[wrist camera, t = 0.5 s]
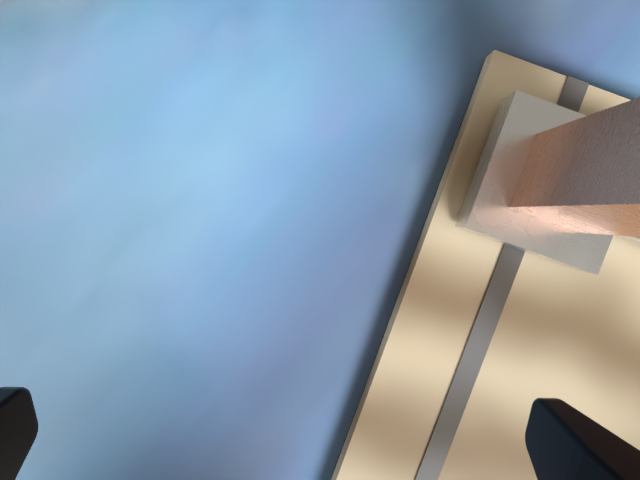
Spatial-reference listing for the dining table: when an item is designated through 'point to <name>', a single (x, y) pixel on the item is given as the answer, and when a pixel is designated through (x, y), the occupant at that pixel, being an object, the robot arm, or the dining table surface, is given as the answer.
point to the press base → (495, 327)
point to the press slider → (558, 181)
